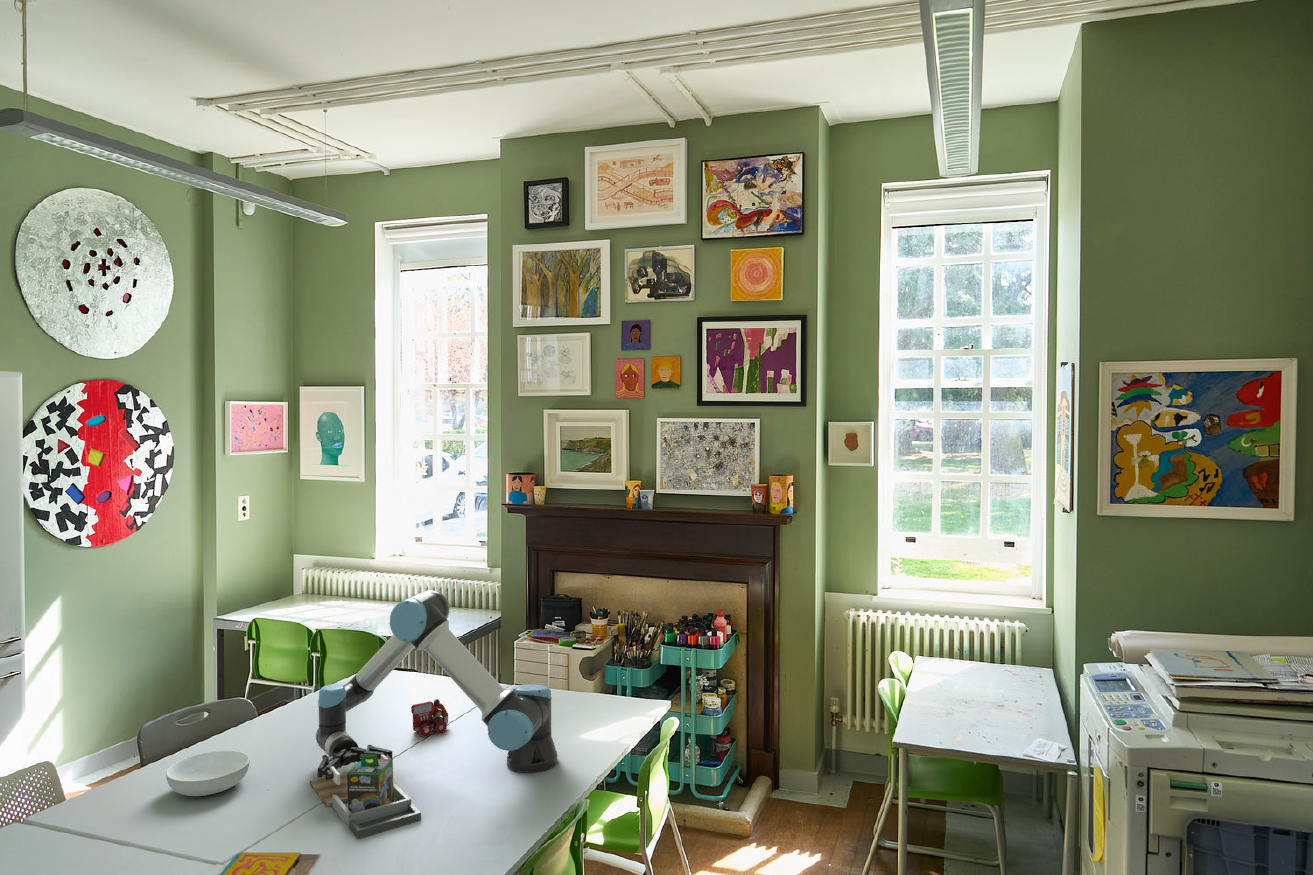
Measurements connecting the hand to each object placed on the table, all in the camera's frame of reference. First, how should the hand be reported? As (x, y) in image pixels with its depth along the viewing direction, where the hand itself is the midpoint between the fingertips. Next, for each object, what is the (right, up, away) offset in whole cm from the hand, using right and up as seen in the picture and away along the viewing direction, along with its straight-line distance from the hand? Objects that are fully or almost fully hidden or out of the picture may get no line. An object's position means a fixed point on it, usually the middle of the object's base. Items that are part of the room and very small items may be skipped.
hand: (364, 772), depth 223 cm
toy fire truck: (+3, -8, +53) cm, 54 cm away
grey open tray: (+5, -8, -5) cm, 11 cm away
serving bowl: (-48, -9, +11) cm, 50 cm away
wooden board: (-7, -8, +11) cm, 16 cm away
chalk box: (+2, -9, -2) cm, 9 cm away
